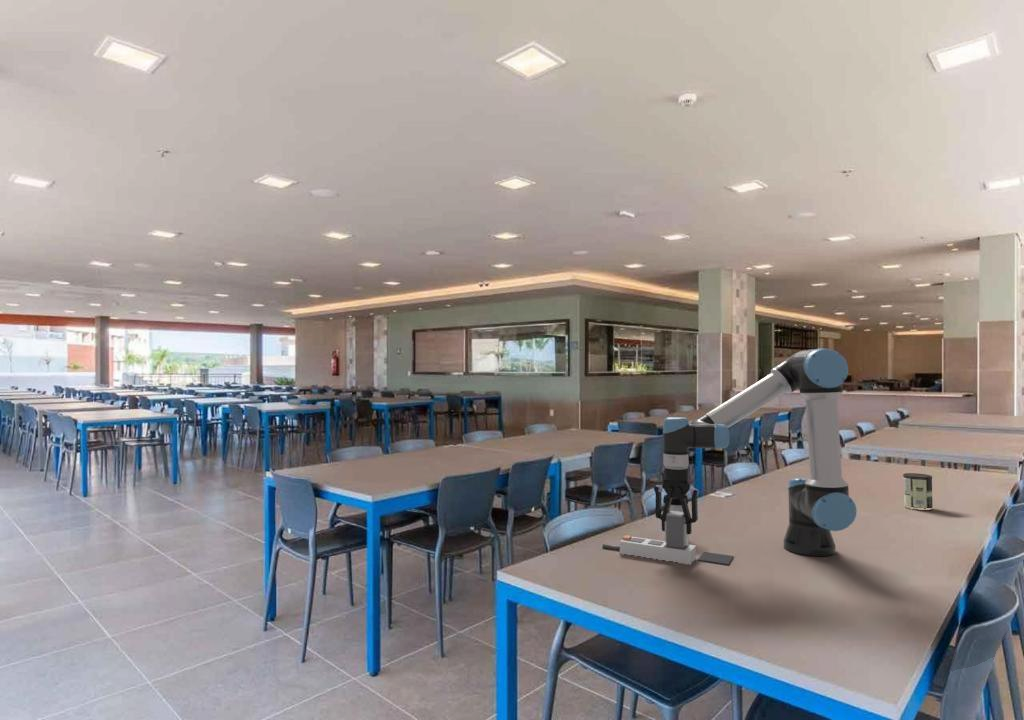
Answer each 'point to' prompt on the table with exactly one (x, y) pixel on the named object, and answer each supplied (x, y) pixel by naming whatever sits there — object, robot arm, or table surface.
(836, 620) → the table surface
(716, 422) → the robot arm
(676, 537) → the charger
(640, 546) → the power strip
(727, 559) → the mat
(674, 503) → the coffee cup
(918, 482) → the coffee can
